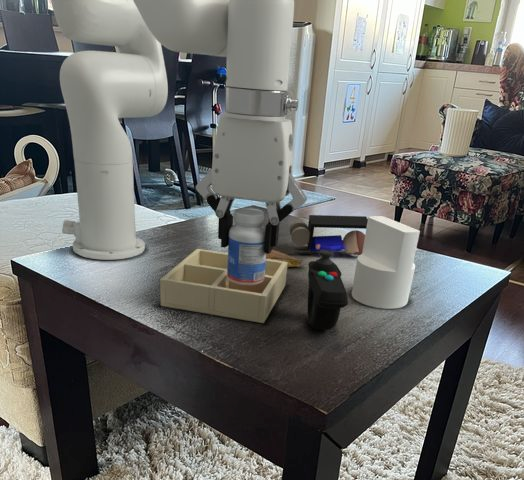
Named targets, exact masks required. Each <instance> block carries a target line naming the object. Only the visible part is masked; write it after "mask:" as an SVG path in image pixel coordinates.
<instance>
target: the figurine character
mask: <svg viewBox="0 0 524 480" xmlns="http://www.w3.org/2000/svg"><path fill="white" fill-rule="evenodd" d="M367 222H368V217H367V216H365V215H364V216H363V215H330V214H329V215H325V214H309V215H308V223H306V222H304V221H302V220H296V221H294V222H292V223H291V224H290V226H289V234H290V235H289V236H290V237H291V242H292V243H293V244H295V245H296V246H298V250H301V251H299V254H301V255H307V254H308V255H310V254H316V253H319V251H320V250H330V251H332V252H342V251H344V252H345V253H346V254H347V255H349V256H351V257H358V256H359V255H362V252H363V246H364V240H365V234H366V233H364V232H363V231H361V230H362V229H363V230H366V228H367ZM315 228H325V229H333V228H334V229H354V230H350V231H348V232H347V233H346V234H344V236H343V238H342V235H341V234H337V235H336V234H335V235H314V232H315ZM356 229H358V230H356ZM359 229H361V230H359Z"/></svg>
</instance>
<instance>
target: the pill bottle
mask: <svg viewBox="0 0 524 480" xmlns="http://www.w3.org/2000/svg"><path fill="white" fill-rule="evenodd" d="M233 221H234V223H235V224H233V226H232V227H231V228H230V230H229V240H228V246H227V253H228V268H227V277H228V279H229V280H230V281H231V282H233V283H236V284H240V285H256V284H259V283H261V282H263V280H264V278H265V265H266V253H265V252H264V243H265V229H266V227H264V226H263V224H264V222H265V212H264V211H263V210H261V209H258V208H253V207H241V208H237V209H235V210H234V215H233Z"/></svg>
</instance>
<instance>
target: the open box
mask: <svg viewBox="0 0 524 480" xmlns="http://www.w3.org/2000/svg"><path fill="white" fill-rule="evenodd" d="M287 264H288V262H284V261H277V260H270V259H266V265H265V278H264V280H263V282H261V283H259V284H256V285H240V284H236V283H233V282H231V281H230V280H229V279H228V277H227V268H228V252H221V251H216V250H215V251H214V250H208V249H203V248H196V249H195V250H194V251H192V252H191V253H190V254H189V255H187V256H186V257H185V258H184V259H183V260H181V261H180V262H179V263H178V264H177V265H176V266H174V267H173V268H172V269H171V270H169V271H168V272H167V273H166V274H165V275H163V276H162V277H161V278H160V279H159V281H160V282H159V287H160V288H159V289H160V291H159V293H160V306H161V307H166V308H172V309H178V310H184V311H189V312H196V313H201V314H207V315H211V316H218V317H225V318H231V319H237V320H242V321H246V322H247V321H248V322H255V323H260V324H264V323H265V322H266V321H267V318H268V317H269V315H270V313H271V311H272V310H273V308H274V306H275V305H276V304H277V302H278V299H279V298H280V296H281V294H282V292H283V290H284V289H285V287H286V282H287V273H288V267H287Z"/></svg>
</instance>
